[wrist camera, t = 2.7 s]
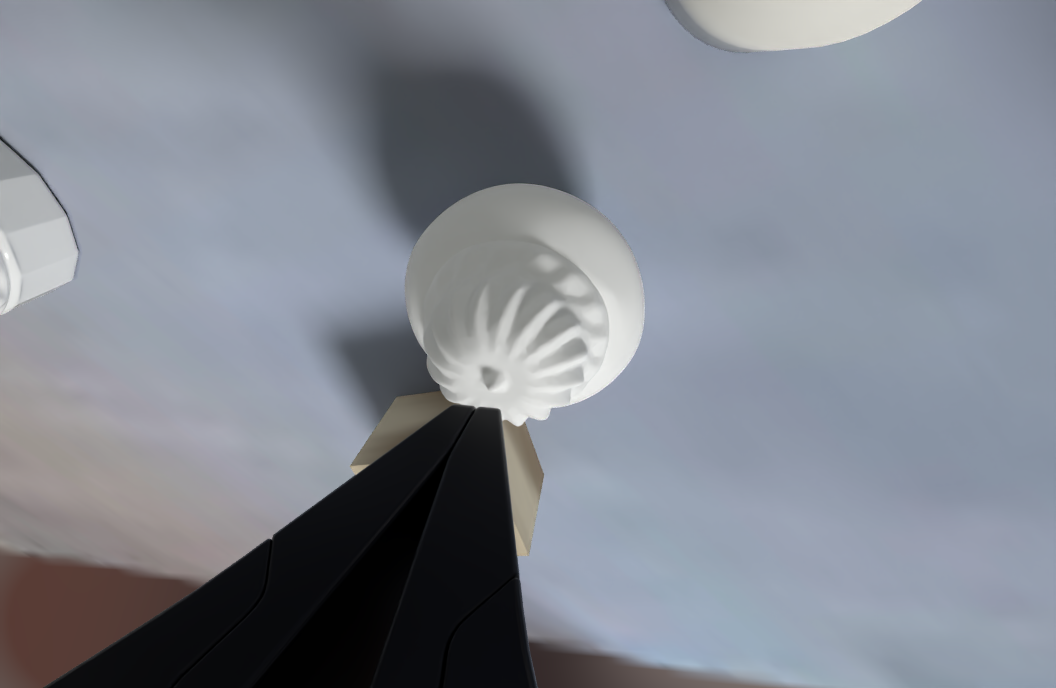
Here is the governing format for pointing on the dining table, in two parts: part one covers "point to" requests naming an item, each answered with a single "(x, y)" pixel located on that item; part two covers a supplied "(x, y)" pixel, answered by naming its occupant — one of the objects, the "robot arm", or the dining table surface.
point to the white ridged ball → (524, 300)
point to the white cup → (31, 235)
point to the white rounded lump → (782, 21)
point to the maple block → (518, 445)
